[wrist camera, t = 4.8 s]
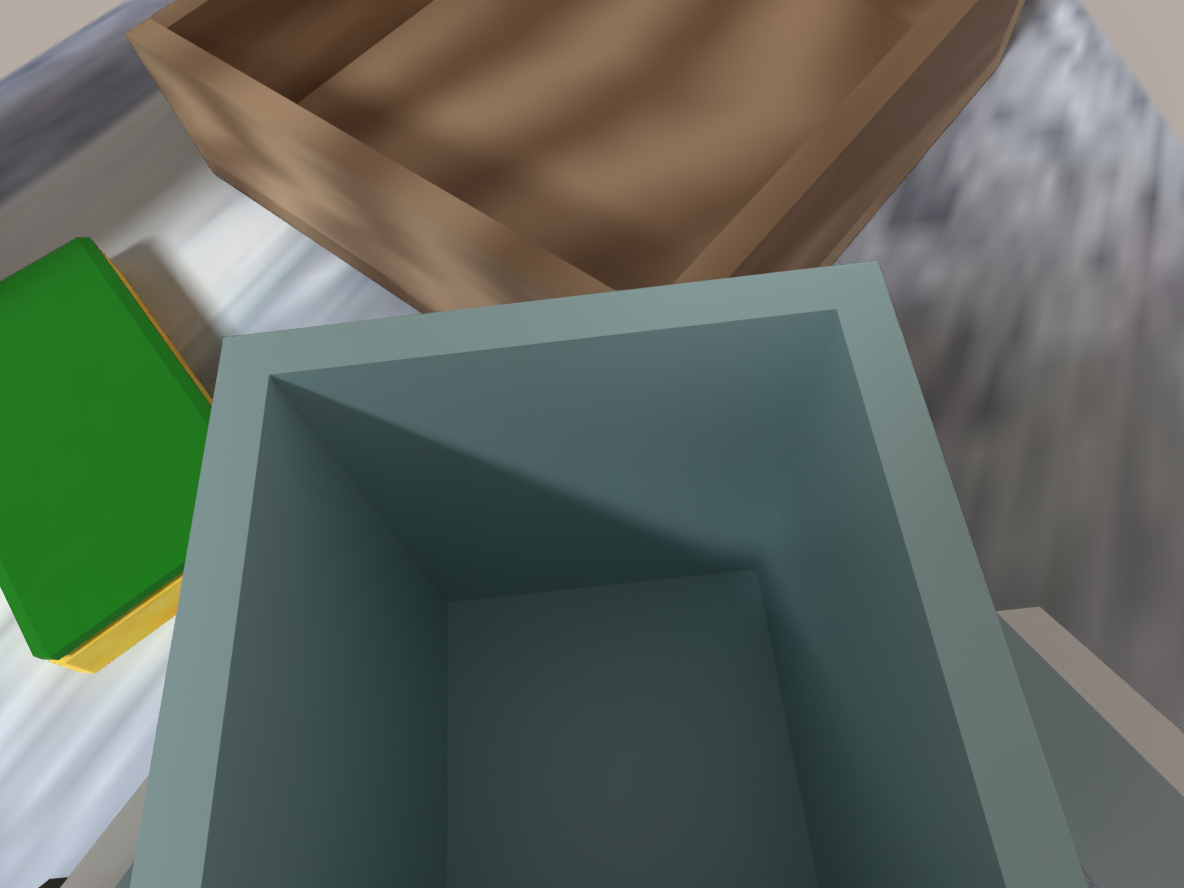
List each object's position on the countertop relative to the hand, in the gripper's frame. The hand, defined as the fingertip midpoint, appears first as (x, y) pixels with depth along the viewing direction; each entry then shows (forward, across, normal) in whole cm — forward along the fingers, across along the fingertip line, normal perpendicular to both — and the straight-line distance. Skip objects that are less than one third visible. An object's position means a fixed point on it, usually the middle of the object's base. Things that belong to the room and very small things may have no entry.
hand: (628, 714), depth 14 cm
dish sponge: (+13, -16, +3) cm, 21 cm away
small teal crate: (+5, 0, -5) cm, 7 cm away
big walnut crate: (+21, +1, +12) cm, 24 cm away
